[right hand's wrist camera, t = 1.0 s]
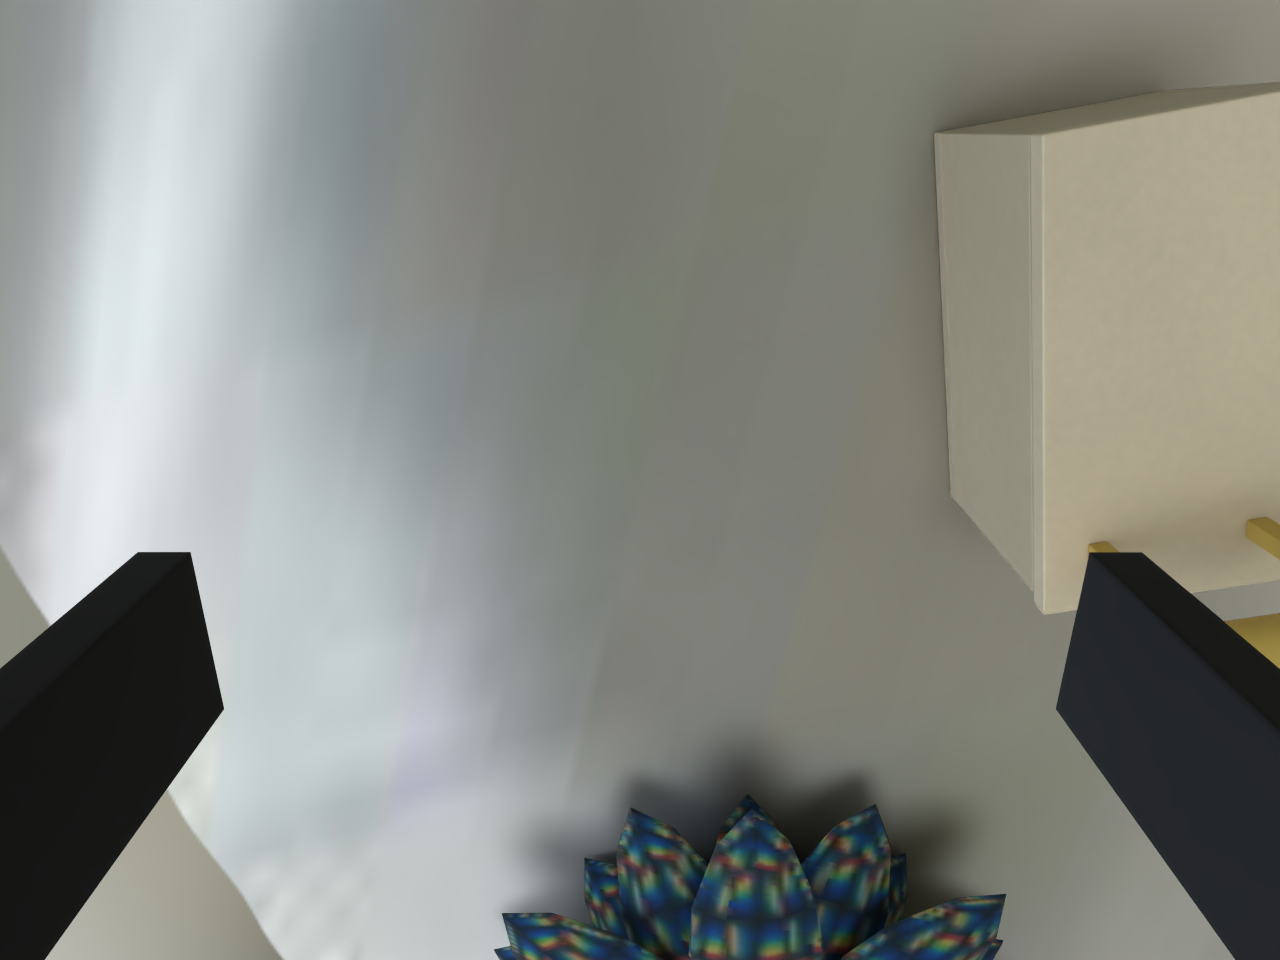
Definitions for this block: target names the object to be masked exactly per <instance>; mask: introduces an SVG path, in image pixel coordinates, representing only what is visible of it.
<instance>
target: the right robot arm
mask: <svg viewBox="0 0 1280 960" xmlns="http://www.w3.org/2000/svg"><path fill="white" fill-rule="evenodd" d="M223 710H224V707H223V702H222V697H221V693H220V688H219V683H218V679H217V674H216V669H215V665H214V660H213V655H212V651H211V646H210V641H209V637H208V632H207V627H206V623H205V618H204V613H203V609H202V604H201V599H200V595H199V590H198V585H197V581H196V576H195V571H194V567H193V562H192V557H191V553H190V552H138V553H137V554H135V555H134V556H133V557H132V558H131V559H129V560H128V561H127V562H126V563H125V564H124V565H122V566H121V567H120V568H119V569H118V570H116V571H115V572H114V573H113V574H112V575H111V576H109V577H108V578H107V579H106V580H105V581H103V582H102V583H101V584H100V585H99V586H97V587H96V588H95V589H94V590H93V591H92V592H90V593H89V594H88V595H87V596H86V597H84V598H83V599H82V600H81V601H80V602H79V603H77V604H76V605H75V606H74V607H73V608H71V609H70V610H69V611H68V612H67V613H66V614H64V615H63V616H62V617H61V618H60V619H58V620H57V621H56V622H55V623H54V624H53V625H51V626H50V627H49V628H48V629H47V630H45V631H44V632H43V633H42V634H41V635H40V636H38V637H37V638H36V639H35V640H34V641H33V642H31V643H30V644H29V645H28V646H27V647H25V648H24V649H23V650H22V651H21V652H19V653H18V654H17V655H16V656H15V657H14V658H12V659H11V660H10V661H9V662H8V663H6V664H5V665H4V666H3V667H2V668H1V669H0V960H45V958H46V957H47V956H48V954H49V953H50V951H51V950H52V949H53V947H54V946H55V944H56V943H57V942H58V940H59V939H60V937H61V936H62V935H63V933H64V932H65V930H66V929H67V928H68V926H69V925H70V924H71V922H72V921H73V919H74V918H75V917H76V915H77V914H78V912H79V911H80V909H81V908H82V907H83V905H84V904H85V903H86V901H87V900H88V898H89V897H90V896H91V894H92V893H93V891H94V890H95V889H96V887H97V886H98V884H99V883H100V881H101V880H102V879H103V877H104V876H105V875H106V873H107V872H108V870H109V869H110V868H111V866H112V865H113V863H114V862H115V861H116V859H117V858H118V856H119V855H120V854H121V852H122V851H123V849H124V848H125V847H126V845H127V844H128V842H129V841H130V840H131V838H132V837H133V835H134V834H135V833H136V831H137V830H138V828H139V827H140V826H141V824H142V823H143V821H144V820H145V819H146V817H147V816H148V815H149V813H150V812H151V810H152V809H153V808H154V806H155V805H156V803H157V802H158V800H159V799H160V798H161V796H162V795H163V794H164V792H165V791H166V789H167V788H168V787H169V785H170V784H171V782H172V781H173V780H174V778H175V777H176V775H177V774H178V773H179V771H180V770H181V768H182V767H183V766H184V764H185V763H186V761H187V760H188V759H189V757H190V756H191V754H192V753H193V752H194V750H195V749H196V747H197V746H198V745H199V743H200V742H201V740H202V739H203V738H204V736H205V735H206V733H207V732H208V731H209V729H210V728H211V726H212V725H213V724H214V722H215V721H216V719H217V718H218V717H219V715H220V714H221V712H222V711H223ZM1056 710H1057V711H1058V712H1059V714H1060V715H1061V717H1062V718H1063V719H1064V721H1065V722H1066V724H1067V725H1068V726H1069V728H1070V729H1071V731H1072V732H1073V733H1074V735H1075V736H1076V738H1077V739H1078V740H1079V742H1080V743H1081V745H1082V746H1083V747H1084V749H1085V750H1086V752H1087V753H1088V754H1089V756H1090V757H1091V759H1092V760H1093V761H1094V763H1095V764H1096V766H1097V767H1098V768H1099V770H1100V771H1101V773H1102V774H1103V775H1104V777H1105V778H1106V780H1107V781H1108V782H1109V784H1110V785H1111V787H1112V788H1113V789H1114V791H1115V792H1116V794H1117V795H1118V796H1119V798H1120V799H1121V801H1122V802H1123V803H1124V805H1125V806H1126V808H1127V809H1128V810H1129V812H1130V813H1131V815H1132V816H1133V817H1134V819H1135V820H1136V821H1137V823H1138V824H1139V826H1140V827H1141V828H1142V830H1143V831H1144V833H1145V834H1146V835H1147V837H1148V838H1149V840H1150V841H1151V842H1152V844H1153V845H1154V847H1155V848H1156V849H1157V851H1158V852H1159V854H1160V855H1161V856H1162V858H1163V859H1164V861H1165V862H1166V863H1167V865H1168V866H1169V868H1170V869H1171V870H1172V872H1173V873H1174V875H1175V876H1176V877H1177V879H1178V880H1179V882H1180V883H1181V884H1182V886H1183V887H1184V889H1185V890H1186V891H1187V893H1188V894H1189V896H1190V897H1191V898H1192V900H1193V901H1194V903H1195V904H1196V905H1197V907H1198V908H1199V910H1200V911H1201V912H1202V914H1203V915H1204V917H1205V918H1206V919H1207V921H1208V922H1209V924H1210V925H1211V926H1212V928H1213V929H1214V930H1215V932H1216V933H1217V935H1218V936H1219V937H1220V939H1221V940H1222V942H1223V943H1224V944H1225V946H1226V947H1227V949H1228V950H1229V951H1230V953H1231V954H1232V956H1233V957H1234V958H1235V960H1280V669H1279V668H1278V667H1277V666H1276V665H1275V664H1274V663H1272V662H1271V661H1270V660H1269V659H1268V658H1266V657H1265V656H1264V655H1263V654H1262V653H1261V652H1259V651H1258V650H1257V649H1256V648H1255V647H1253V646H1252V645H1251V644H1250V643H1249V642H1248V641H1246V640H1245V639H1244V638H1243V637H1242V636H1240V635H1239V634H1238V633H1237V632H1236V631H1235V630H1233V629H1232V628H1231V627H1230V626H1229V625H1227V624H1226V623H1225V622H1224V621H1223V620H1222V619H1220V618H1219V617H1218V616H1217V615H1216V614H1214V613H1213V612H1212V611H1211V610H1210V609H1209V608H1207V607H1206V606H1205V605H1204V604H1203V603H1201V602H1200V601H1199V600H1198V599H1197V598H1196V597H1194V596H1193V595H1192V594H1191V593H1190V592H1188V591H1187V590H1186V589H1185V588H1184V587H1182V586H1181V585H1180V584H1179V583H1178V582H1177V581H1175V580H1174V579H1173V578H1172V577H1171V576H1169V575H1168V574H1167V573H1166V572H1165V571H1164V570H1162V569H1161V568H1160V567H1159V566H1158V565H1156V564H1155V563H1154V562H1153V561H1152V560H1151V559H1149V558H1148V557H1147V556H1146V555H1145V554H1143V553H1142V552H1090V553H1089V557H1088V562H1087V567H1086V571H1085V576H1084V581H1083V585H1082V590H1081V595H1080V599H1079V604H1078V609H1077V613H1076V618H1075V623H1074V627H1073V632H1072V637H1071V641H1070V646H1069V651H1068V655H1067V660H1066V665H1065V669H1064V674H1063V679H1062V683H1061V688H1060V692H1059V697H1058V702H1057V706H1056Z"/></svg>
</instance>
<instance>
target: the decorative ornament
mask: <svg viewBox="0 0 1280 960" xmlns="http://www.w3.org/2000/svg"><path fill="white" fill-rule="evenodd" d="M890 855H891V845H890V843H889V840H888V837H887V834H886V831H885V828H884V826H883V823H882V820H881V817H880V814H879V811H878V809H877V806H876V804H874V805H872V806H870V807H869V808H867V809H865V810H863V811H861V812H859V813H858V814H856V815H854V816H852V817H850V818H849V819H847V820H845V821H843V822H841V823H839V824H838V825H836V826H834V827H833V828H832V830H831V831H830V832H829V833H828V834H827V835H826V836H825V838H824V839H823V840H822V841H821V842H820V843H819V844H818V846H817V847H816V848H815V849H814V850H813V851H812V852H811V854H810V855H809V856H808V857H807V858H806V859H805V860H804V861H803V863H802V864H800V862H799V860H798V858H797V855H796V853H795V851H794V849H793V846H792V844H791V842H790V841H789V840H788V839H787V838H786V837H785V836H784V835H782V834H781V833H780V830H779V828H778V826H777V824H776V823H775V822H774V821H773V820H772V819H771V818H770V817H769V816H768V815H767V814H766V813H765V812H764V811H763V810H762V809H761V808H760V807H759V805H758V804H757V803H756V802H755V801H754V800H753V799H752V798H751V797H750V796H749V795H747V796H746V797H745V798H744V800H743V801H742V802H741V803H740V805H739V806H738V807H737V808H736V809H735V811H734V812H733V813H732V814H731V816H730V817H729V818H728V819H727V821H726V822H725V823H724V824H723V826H722V827H721V829H720V833H719V836H718V839H717V842H716V845H715V849H714V852H713V854H712V857H711V859H710V862H709V864H708V863H707V862H706V861H705V860H704V859H703V858H702V857H701V856H700V855H699V854H698V853H697V852H696V851H695V850H694V849H693V848H692V847H691V845H690V844H689V843H688V842H687V841H686V840H685V839H684V838H683V837H682V836H681V835H680V834H679V833H678V832H677V831H676V830H675V829H674V828H673V827H671V826H669V825H667V824H665V823H662V822H660V821H658V820H656V819H654V818H652V817H650V816H647V815H645V814H643V813H641V812H639V811H637V810H635V809H632V808H630V810H629V813H628V816H627V819H626V822H625V826H624V829H623V832H622V835H621V838H620V841H619V844H618V847H617V850H616V858H617V865H614V864H610V863H605V862H601V861H596V860H592V859H587V858H585V902H586V905H587V908H588V911H589V914H590V917H591V920H592V922H593V925H594V927H593V926H590V925H587V924H584V923H581V922H578V921H575V920H572V919H569V918H566V917H563V916H560V915H557V914H553V913H502V916H503V919H504V923H505V927H506V930H507V934H508V937H509V941H510V945H511V946H509V947H504V948H499V949H494V951H495V953H496V954H497V956H498V957H499V959H500V960H993V959H994V957H995V955H996V953H997V952H998V950H999V948H1000V946H1001V945H1002V942H1003V940H998V939H996V937H997V933H998V928H999V924H1000V919H1001V915H1002V911H1003V906H1004V902H1005V897H1006V894H999V895H987V896H975V897H963V898H955V899H953V900H950V901H948V902H945V903H943V904H940V905H937V906H935V907H932V908H930V909H927V910H925V911H922V912H920V913H917V914H915V915H912V916H910V917H907V918H905V919H902V920H901V918H902V914H903V910H904V906H905V902H906V898H907V877H906V853H904V854H901V855H899V856H896V857H893V858H890Z"/></svg>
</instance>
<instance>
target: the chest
mask: <svg viewBox="0 0 1280 960" xmlns="http://www.w3.org/2000/svg"><path fill="white" fill-rule="evenodd" d="M1275 89H1280V82H1273V83H1259V84H1246V85H1232V86H1219V87H1206V88H1192V89H1179V90H1165V91H1160V92H1154V93H1149V94H1143V95H1138V96H1132V97H1127V98H1122V99H1116V100H1111V101H1105V102H1100V103H1094V104H1089V105H1083V106H1078V107H1073V108H1067V109H1062V110H1056V111H1051V112H1045V113H1040V114H1035V115H1029V116H1024V117H1018V118H1013V119H1007V120H1002V121H996V122H991V123H986V124H980V125H975V126H969V127H964V128H958V129H953V130H947V131H942V132H937V133H934V147H935V169H936V190H937V212H938V234H939V255H940V277H941V299H942V321H943V342H944V364H945V386H946V408H947V429H948V451H949V473H950V494H951V496H952V498H953V499H954V500H955V501H956V502H957V503H958V504H959V505H960V507H961V508H962V509H963V510H964V511H965V512H966V514H967V515H968V516H969V517H970V518H971V520H972V521H973V522H974V523H975V524H976V525H977V527H978V528H979V529H980V530H981V531H982V532H983V534H984V535H985V536H986V537H987V538H988V540H989V541H990V542H991V543H992V544H993V545H994V547H995V548H996V549H997V550H998V551H999V552H1000V554H1001V555H1002V556H1003V557H1004V558H1005V559H1006V561H1007V562H1008V563H1009V564H1010V565H1011V567H1012V568H1013V569H1014V570H1015V571H1016V572H1017V574H1018V575H1019V576H1020V577H1021V578H1022V579H1023V581H1024V582H1025V583H1026V584H1027V585H1028V587H1029V588H1030V589H1031V590H1032V591H1033V592H1034V501H1033V372H1032V243H1031V135H1032V134H1034V133H1040V132H1045V131H1050V130H1056V129H1061V128H1067V127H1072V126H1078V125H1083V124H1089V123H1094V122H1100V121H1105V120H1111V119H1116V118H1122V117H1127V116H1133V115H1138V114H1144V113H1149V112H1155V111H1160V110H1166V109H1171V108H1177V107H1182V106H1188V105H1193V104H1198V103H1204V102H1209V101H1215V100H1220V99H1226V98H1231V97H1237V96H1242V95H1248V94H1253V93H1259V92H1264V91H1270V90H1275Z"/></svg>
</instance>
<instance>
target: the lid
mask: <svg viewBox="0 0 1280 960" xmlns="http://www.w3.org/2000/svg"><path fill="white" fill-rule="evenodd" d="M1031 243H1032V372H1033V501H1034V603H1035V604H1036V606H1037V607H1038V608H1039V609H1040V610H1041V612H1042V613H1043V614H1045V615H1047V614H1054V613H1061V612H1068V611H1074V610H1077V609H1078V604H1079V599H1080V595H1081V590H1082V585H1083V581H1084V576H1085V571H1086V567H1087V562H1088V557H1089V553H1090V552H1142V553H1143V554H1145V555H1146V556H1147V557H1148V558H1149V559H1151V560H1152V561H1153V562H1154V563H1155V564H1156V565H1158V566H1159V567H1160V568H1161V569H1162V570H1164V571H1165V572H1166V573H1167V574H1168V575H1169V576H1171V577H1172V578H1173V579H1174V580H1175V581H1177V582H1178V583H1179V584H1180V585H1181V586H1182V587H1184V588H1185V589H1186V590H1187V591H1188V592H1190V593H1196V592H1203V591H1210V590H1217V589H1223V588H1230V587H1237V586H1244V585H1250V584H1257V583H1264V582H1271V581H1277V580H1280V89H1275V90H1270V91H1264V92H1259V93H1253V94H1248V95H1242V96H1237V97H1231V98H1226V99H1220V100H1215V101H1209V102H1204V103H1198V104H1193V105H1188V106H1182V107H1177V108H1171V109H1166V110H1160V111H1155V112H1149V113H1144V114H1138V115H1133V116H1127V117H1122V118H1116V119H1111V120H1105V121H1100V122H1094V123H1089V124H1083V125H1078V126H1072V127H1067V128H1061V129H1056V130H1050V131H1045V132H1040V133H1034V134H1032V135H1031ZM1224 622H1225V623H1226V624H1227V625H1229V626H1230V627H1231V628H1232V629H1233V630H1235V631H1236V632H1237V633H1238V634H1239V635H1240V636H1242V637H1243V638H1244V639H1245V640H1246V641H1248V642H1249V643H1250V644H1251V645H1252V646H1253V647H1255V648H1256V649H1257V650H1258V651H1259V652H1261V653H1262V654H1263V655H1264V656H1265V657H1266V658H1268V659H1269V660H1270V661H1271V662H1272V663H1274V664H1275V665H1276V666H1277V667H1278V668H1279V669H1280V613H1278V614H1271V615H1264V616H1258V617H1251V618H1244V619H1237V620H1230V621H1224Z"/></svg>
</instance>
